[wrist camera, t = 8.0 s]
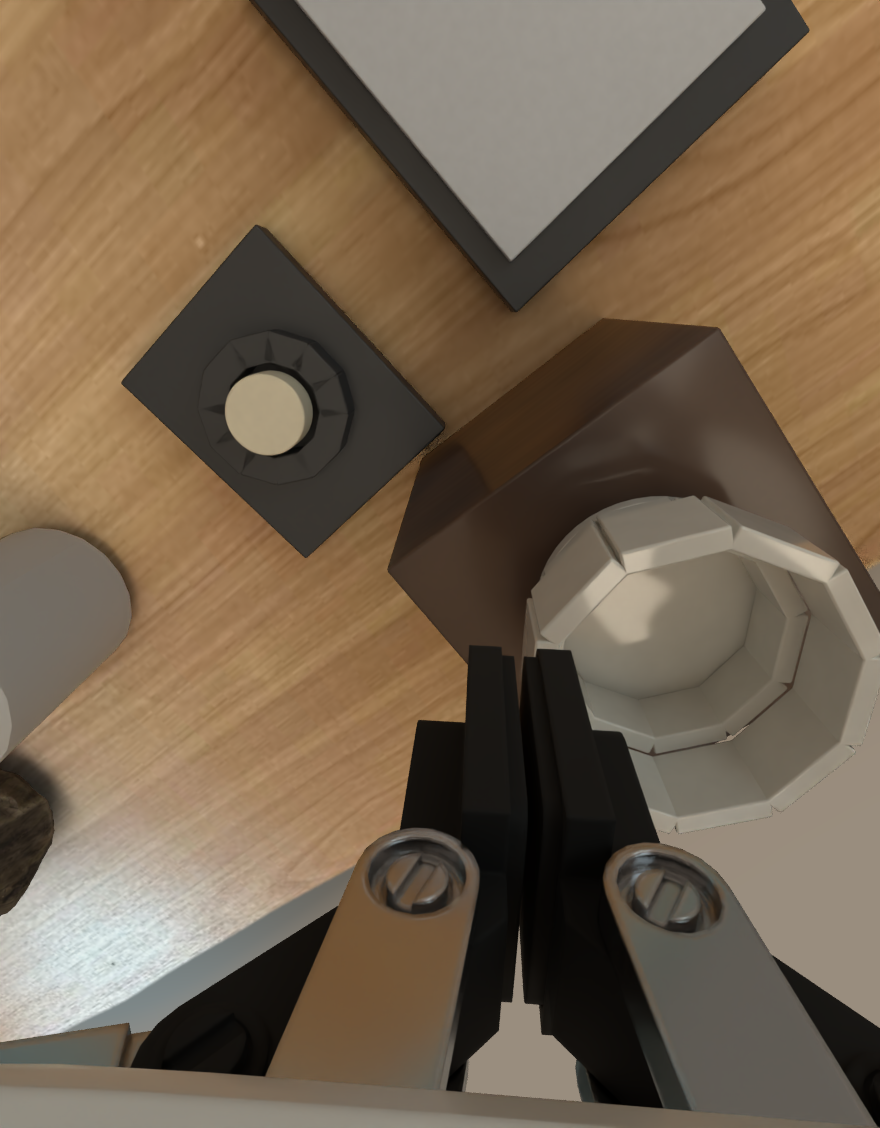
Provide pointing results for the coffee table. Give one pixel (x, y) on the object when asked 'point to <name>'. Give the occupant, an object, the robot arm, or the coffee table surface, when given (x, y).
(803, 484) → the stand
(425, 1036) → the robot arm
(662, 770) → the bowl
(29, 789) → the rock
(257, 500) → the pad
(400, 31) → the scale
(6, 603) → the can
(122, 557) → the coffee table surface
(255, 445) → the button
